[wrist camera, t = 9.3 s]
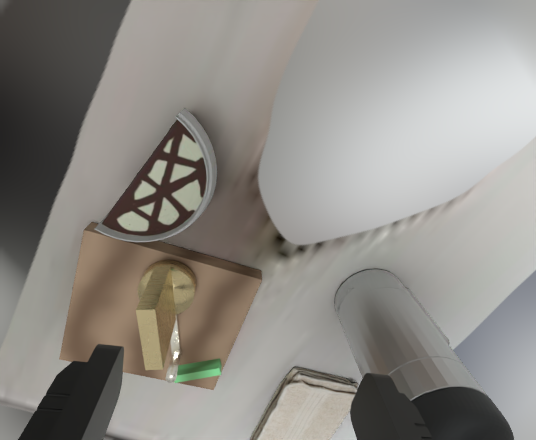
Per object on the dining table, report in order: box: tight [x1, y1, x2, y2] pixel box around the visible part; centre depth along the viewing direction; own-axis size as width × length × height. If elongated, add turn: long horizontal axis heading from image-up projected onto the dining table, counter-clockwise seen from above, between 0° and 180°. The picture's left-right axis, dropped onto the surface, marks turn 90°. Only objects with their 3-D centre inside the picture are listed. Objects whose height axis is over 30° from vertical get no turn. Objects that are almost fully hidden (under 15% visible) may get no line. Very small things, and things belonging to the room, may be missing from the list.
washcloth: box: [250, 368, 358, 440], centre depth 51 cm, size 12×18×3 cm, turn 160°
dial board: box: [59, 222, 262, 390], centre depth 40 cm, size 20×19×4 cm
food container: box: [95, 108, 217, 242], centre depth 30 cm, size 12×6×10 cm, turn 140°
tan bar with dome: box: [136, 260, 196, 382], centre depth 35 cm, size 15×6×9 cm, turn 178°
